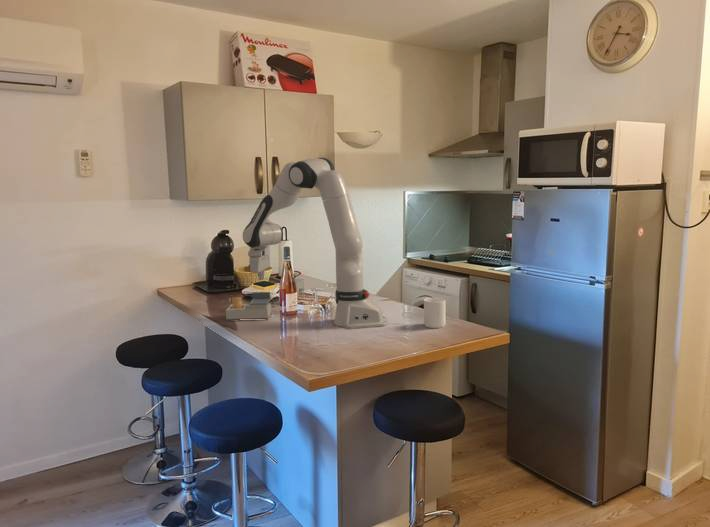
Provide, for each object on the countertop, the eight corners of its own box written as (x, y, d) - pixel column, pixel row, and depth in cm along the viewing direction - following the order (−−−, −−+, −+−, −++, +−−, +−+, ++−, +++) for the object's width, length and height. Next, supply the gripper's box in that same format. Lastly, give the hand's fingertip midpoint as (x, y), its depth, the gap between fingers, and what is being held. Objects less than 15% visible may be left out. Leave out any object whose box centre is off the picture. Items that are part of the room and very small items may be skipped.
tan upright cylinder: (243, 314, 242) (242, 297, 241) (241, 316, 238) (240, 298, 237) (234, 314, 242) (233, 297, 241) (232, 316, 238) (231, 299, 237)
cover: (270, 300, 251) (269, 291, 250) (267, 304, 241) (266, 296, 241) (253, 300, 251) (252, 292, 250) (249, 305, 241) (248, 296, 241)
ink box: (281, 304, 265) (280, 281, 263) (290, 301, 273) (288, 278, 271) (297, 305, 262) (296, 281, 260) (305, 302, 270) (304, 278, 268)
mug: (453, 323, 222) (453, 297, 220) (438, 329, 212) (438, 303, 211) (435, 320, 227) (435, 295, 225) (419, 326, 218) (419, 300, 216)
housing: (271, 314, 246) (270, 300, 245) (267, 320, 235) (267, 305, 234) (231, 315, 246) (230, 301, 245) (226, 321, 235) (225, 306, 234)
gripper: (260, 247, 263) (261, 275, 265) (246, 253, 243) (247, 283, 245) (272, 247, 262) (273, 276, 264) (260, 253, 242) (261, 283, 244)
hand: (261, 279), depth 254 cm, fingers closed
